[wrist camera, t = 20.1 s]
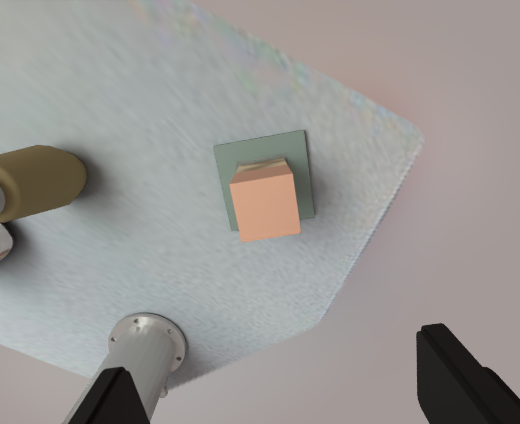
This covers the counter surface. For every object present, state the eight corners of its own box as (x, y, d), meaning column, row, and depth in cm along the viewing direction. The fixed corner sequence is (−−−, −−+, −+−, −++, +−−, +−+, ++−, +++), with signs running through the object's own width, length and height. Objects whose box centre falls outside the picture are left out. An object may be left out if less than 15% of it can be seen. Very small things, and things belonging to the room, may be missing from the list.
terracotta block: (294, 214, 34) (301, 232, 28) (245, 222, 35) (241, 242, 29) (287, 164, 32) (292, 173, 27) (235, 173, 33) (229, 184, 27)
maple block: (283, 158, 38) (287, 164, 32) (290, 201, 40) (294, 214, 34) (239, 165, 38) (235, 173, 33) (247, 208, 40) (245, 222, 35)
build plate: (313, 215, 42) (314, 217, 41) (232, 228, 42) (231, 230, 41) (302, 129, 38) (303, 130, 37) (214, 145, 39) (212, 146, 38)
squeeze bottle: (27, 177, 40) (-148, 218, 23) (53, 130, 38) (-117, 137, 21) (79, 211, 42) (-50, 274, 25) (106, 167, 40) (-12, 203, 23)
